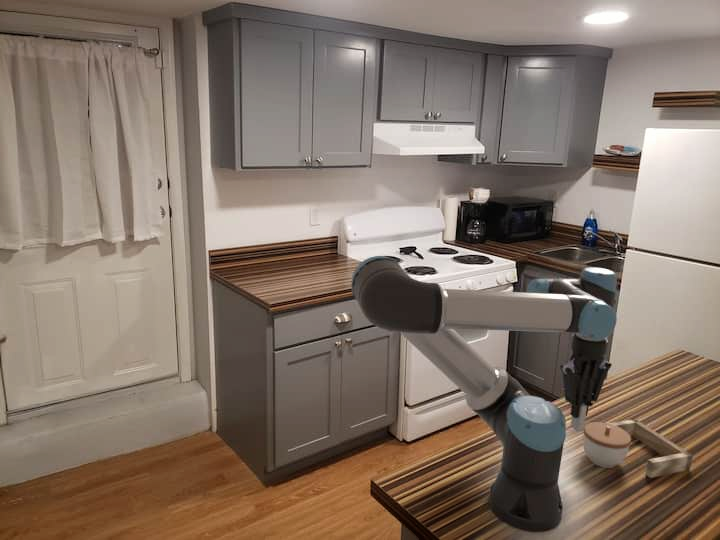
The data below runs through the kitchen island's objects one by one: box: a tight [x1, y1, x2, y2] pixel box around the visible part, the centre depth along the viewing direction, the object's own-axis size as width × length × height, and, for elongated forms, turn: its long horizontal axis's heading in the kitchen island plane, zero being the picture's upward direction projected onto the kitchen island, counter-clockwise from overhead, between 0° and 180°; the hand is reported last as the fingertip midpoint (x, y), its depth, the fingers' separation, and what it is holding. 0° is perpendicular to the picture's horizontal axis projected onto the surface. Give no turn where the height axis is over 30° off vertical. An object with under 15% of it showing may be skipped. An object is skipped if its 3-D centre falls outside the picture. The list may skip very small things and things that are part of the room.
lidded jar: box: [582, 421, 632, 469], centre depth 139 cm, size 11×11×9 cm
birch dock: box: [607, 418, 693, 479], centre depth 143 cm, size 12×18×4 cm
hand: (576, 428), depth 134 cm, fingers closed
